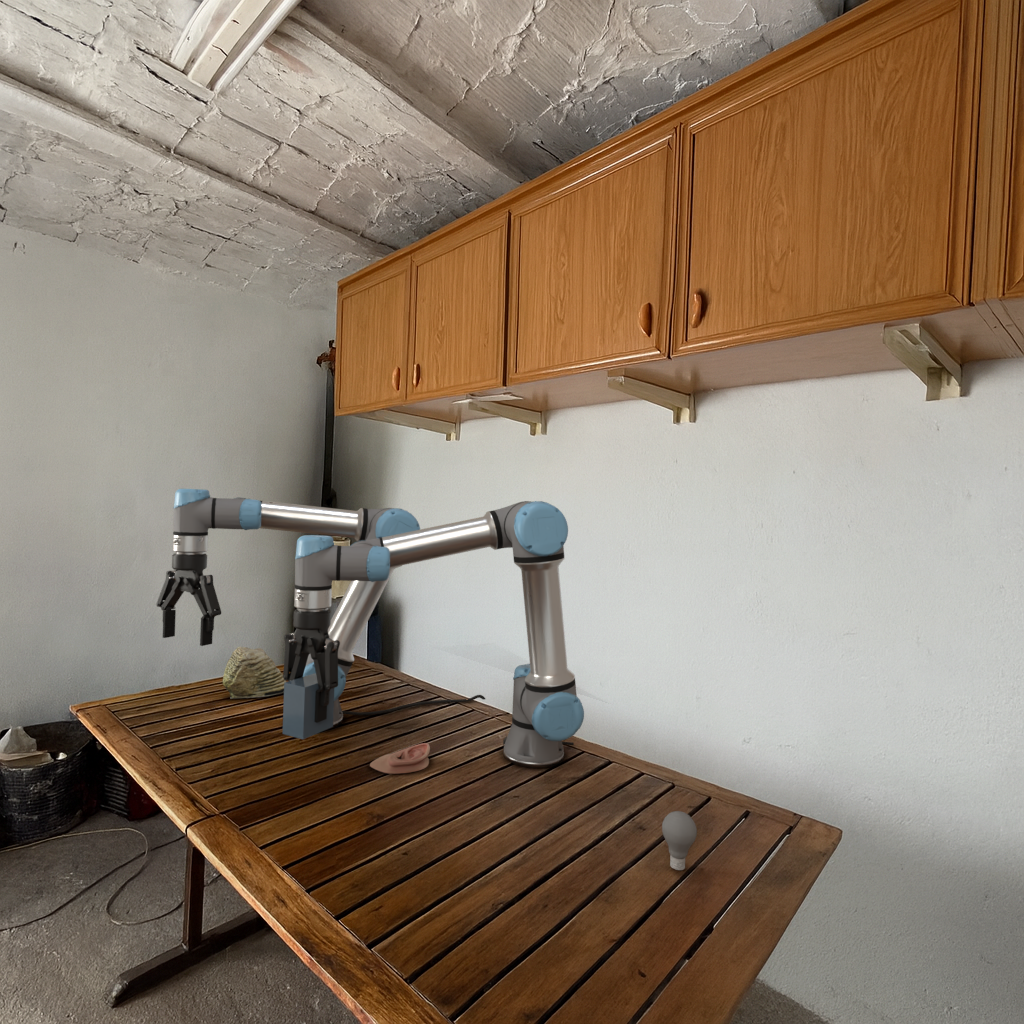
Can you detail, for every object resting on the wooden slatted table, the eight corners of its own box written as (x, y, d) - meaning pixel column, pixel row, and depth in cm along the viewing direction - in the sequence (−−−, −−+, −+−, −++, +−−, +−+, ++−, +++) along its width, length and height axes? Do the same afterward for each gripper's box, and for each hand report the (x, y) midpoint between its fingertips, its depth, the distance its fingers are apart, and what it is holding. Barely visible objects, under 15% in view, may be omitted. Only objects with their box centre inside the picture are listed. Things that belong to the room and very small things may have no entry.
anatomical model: (364, 753, 147) (384, 735, 158) (364, 770, 147) (383, 751, 158) (419, 760, 144) (435, 742, 155) (418, 778, 144) (434, 758, 156)
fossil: (218, 695, 195) (220, 647, 195) (278, 685, 208) (279, 640, 207) (228, 703, 189) (230, 653, 188) (289, 692, 201) (290, 645, 201)
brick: (313, 721, 139) (314, 673, 139) (333, 726, 137) (334, 677, 136) (282, 733, 132) (284, 682, 131) (303, 739, 129) (304, 687, 129)
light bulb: (655, 859, 115) (658, 804, 115) (687, 858, 116) (690, 804, 116) (666, 878, 109) (669, 821, 109) (700, 878, 110) (702, 821, 110)
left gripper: (142, 549, 154) (139, 636, 155) (211, 557, 143) (208, 651, 144) (170, 548, 161) (168, 631, 161) (239, 556, 150) (236, 645, 150)
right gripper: (266, 605, 135) (263, 714, 135) (334, 616, 126) (330, 731, 126) (293, 601, 141) (289, 704, 142) (359, 611, 133) (355, 720, 133)
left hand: (187, 640), depth 153 cm, fingers open, 13 cm apart
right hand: (308, 717), depth 134 cm, fingers closed on brick, 6 cm apart
